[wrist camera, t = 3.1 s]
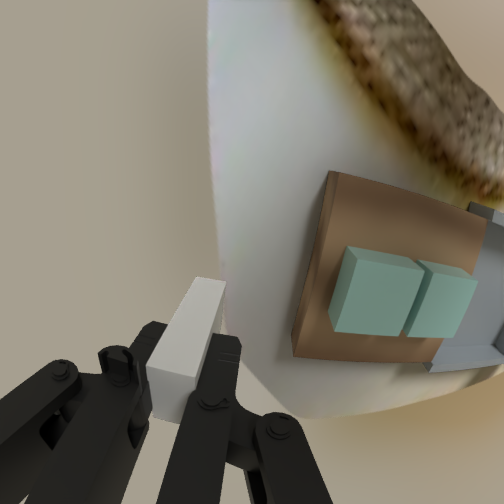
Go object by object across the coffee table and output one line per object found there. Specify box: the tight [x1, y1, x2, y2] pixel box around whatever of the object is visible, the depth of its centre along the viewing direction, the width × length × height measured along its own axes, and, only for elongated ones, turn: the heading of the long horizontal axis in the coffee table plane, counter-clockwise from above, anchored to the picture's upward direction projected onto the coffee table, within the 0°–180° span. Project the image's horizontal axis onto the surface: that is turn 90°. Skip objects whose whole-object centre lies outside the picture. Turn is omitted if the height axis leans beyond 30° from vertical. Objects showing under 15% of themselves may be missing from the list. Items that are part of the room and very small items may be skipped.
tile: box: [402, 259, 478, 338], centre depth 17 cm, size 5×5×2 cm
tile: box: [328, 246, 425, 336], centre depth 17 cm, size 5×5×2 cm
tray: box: [422, 202, 504, 373], centre depth 19 cm, size 16×15×4 cm
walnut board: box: [291, 171, 488, 362], centre depth 19 cm, size 14×14×3 cm
